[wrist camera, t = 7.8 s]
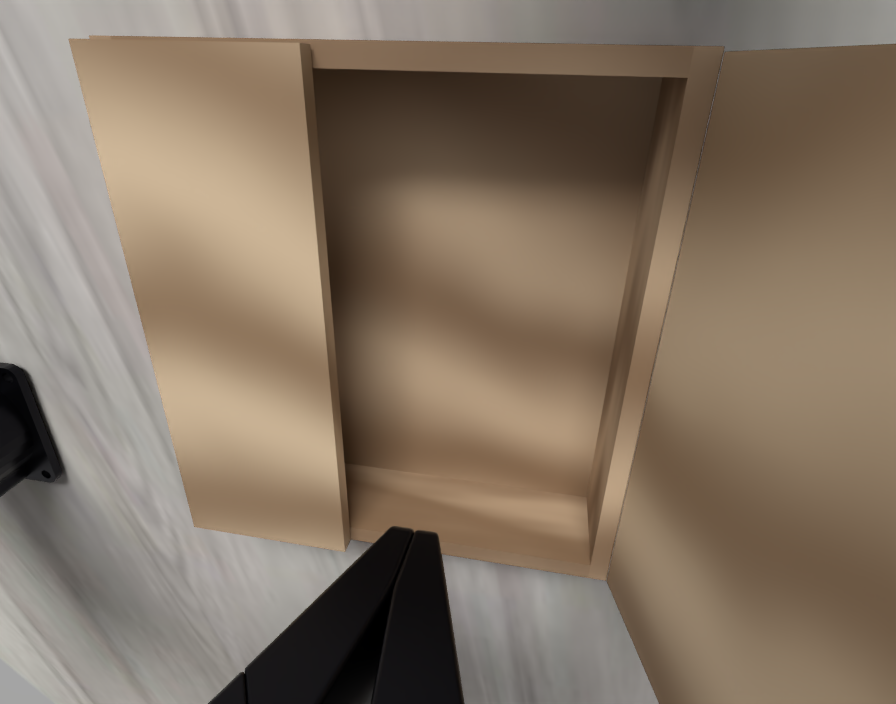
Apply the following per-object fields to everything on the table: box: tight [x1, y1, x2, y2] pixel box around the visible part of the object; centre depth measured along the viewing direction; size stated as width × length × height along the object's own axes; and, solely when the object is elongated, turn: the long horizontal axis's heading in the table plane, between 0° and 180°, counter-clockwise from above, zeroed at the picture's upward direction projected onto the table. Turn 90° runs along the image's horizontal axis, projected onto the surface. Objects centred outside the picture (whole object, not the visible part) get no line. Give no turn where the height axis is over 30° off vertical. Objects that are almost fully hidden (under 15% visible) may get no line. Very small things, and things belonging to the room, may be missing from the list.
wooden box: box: [89, 36, 725, 581], centre depth 18 cm, size 16×15×4 cm
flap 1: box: [69, 39, 351, 552], centre depth 17 cm, size 16×6×1 cm, turn 179°
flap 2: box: [607, 44, 896, 704], centre depth 11 cm, size 16×9×1 cm
